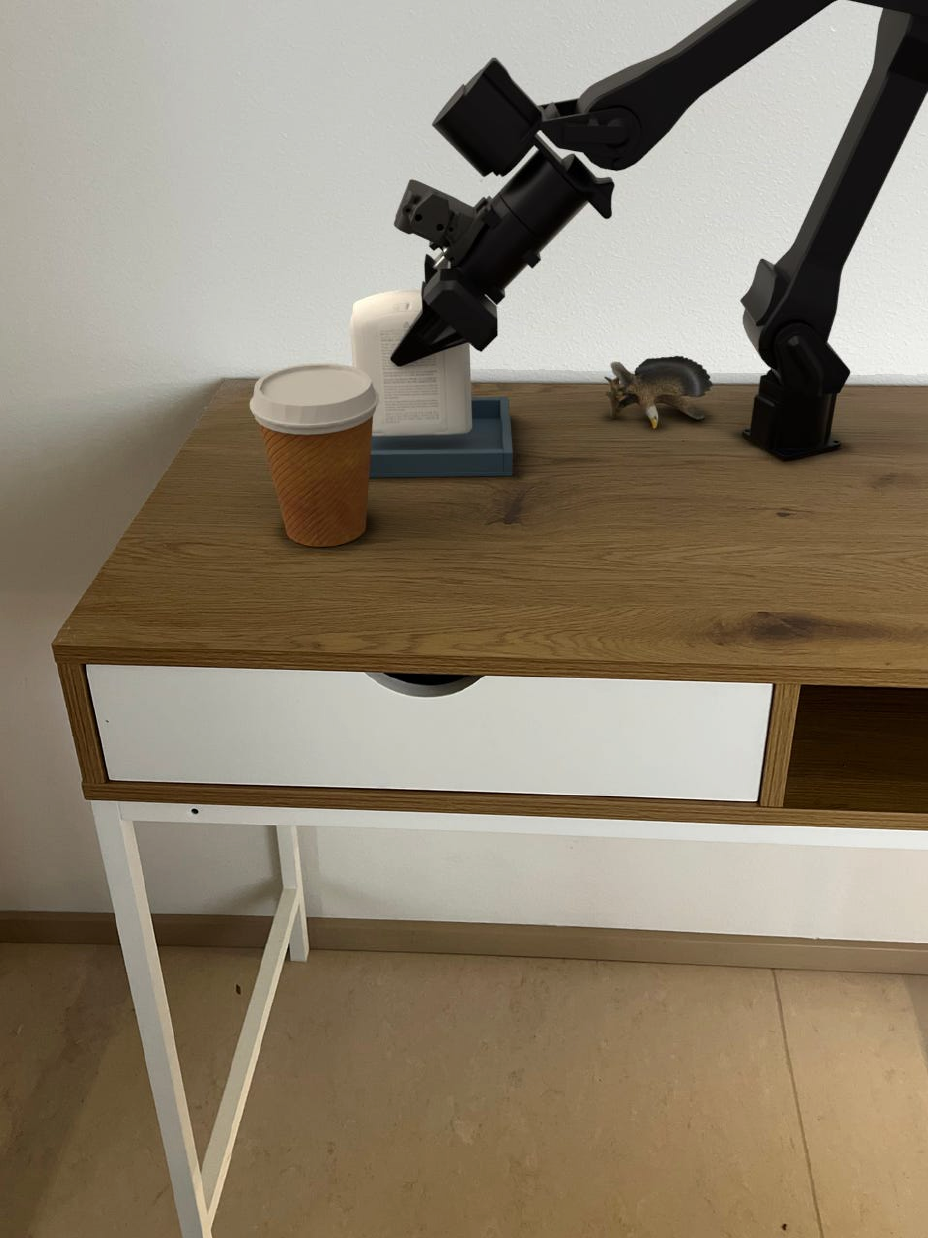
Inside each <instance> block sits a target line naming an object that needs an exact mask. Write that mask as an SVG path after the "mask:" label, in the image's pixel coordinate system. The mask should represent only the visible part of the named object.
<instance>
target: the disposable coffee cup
mask: <svg viewBox="0 0 928 1238" xmlns="http://www.w3.org/2000/svg"><path fill="white" fill-rule="evenodd" d="M378 402H379V394H378V393H377V391H376V390H375V389H374V387H373V384H372V381H371V378H370V376H369V375H368V374H367V373H365V372H364V371H362V370H360V369H357V368H354V367H353V366H350V365H345V364H339V363H327V362H325V363H324V362H323V363H321V362H320V363H317V362H316V363H305V364H297V365H292V366H286V367H282V368H280V369H276V370H273V371H271V372H269V373H266V374H265V375H263V376H261V377H260V378H259V379H258V380H257V381H256V382H255V384H254V389H253V396H252V397H251V398H250V401H249V409H250V411H251V413H252V415H253V416H254V418H255V420H256V422H258V424H259V429H260V432H261V436H262V440H263V445H264V448H265V453H266V456H267V460H268V461H267V462H268V463H269V468H270V473H271V475H272V480H273V483H274V488H275V491H276V496H277V500H278V504H279V507H280V512H281V516H282V519H283V523H284V528H285V533H286V535H287V536H288V538H289V539H290V540H292V541H293V542H295V543H298V544H300V545H304V546H309V547H317V548H324V547H336V546H339V545H340V546H341V545H343V544H347V543H351V542H352V541H354V540H356V539H358V538H359V537H361V536H362V535H363V533H365V531H366V528H367V516H368V515H367V514H368V502H369V501H368V498H369V487H370V486H369V485H370V478H369V471H370V456H371V441H372V426H373V414H374V413H375V411H376V407H377V405H378Z"/></svg>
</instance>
